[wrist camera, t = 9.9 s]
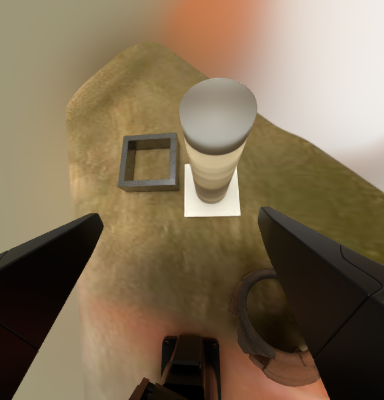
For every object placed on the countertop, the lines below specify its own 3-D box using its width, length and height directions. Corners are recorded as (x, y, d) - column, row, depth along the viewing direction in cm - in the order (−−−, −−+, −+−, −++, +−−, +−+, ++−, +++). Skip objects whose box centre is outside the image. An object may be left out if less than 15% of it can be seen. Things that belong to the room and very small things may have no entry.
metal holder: (178, 190, 23) (175, 184, 21) (126, 192, 24) (117, 186, 22) (179, 142, 25) (176, 132, 23) (131, 145, 26) (123, 136, 24)
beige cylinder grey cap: (227, 203, 22) (261, 137, 8) (195, 204, 22) (178, 143, 9) (225, 173, 23) (252, 74, 9) (195, 175, 23) (179, 81, 10)
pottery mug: (222, 352, 18) (217, 350, 13) (238, 273, 24) (240, 247, 18) (356, 425, 14) (446, 477, 8) (337, 306, 19) (382, 285, 14)
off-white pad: (239, 216, 22) (240, 215, 21) (184, 217, 22) (184, 216, 22) (235, 163, 23) (236, 161, 23) (185, 165, 24) (184, 164, 24)
